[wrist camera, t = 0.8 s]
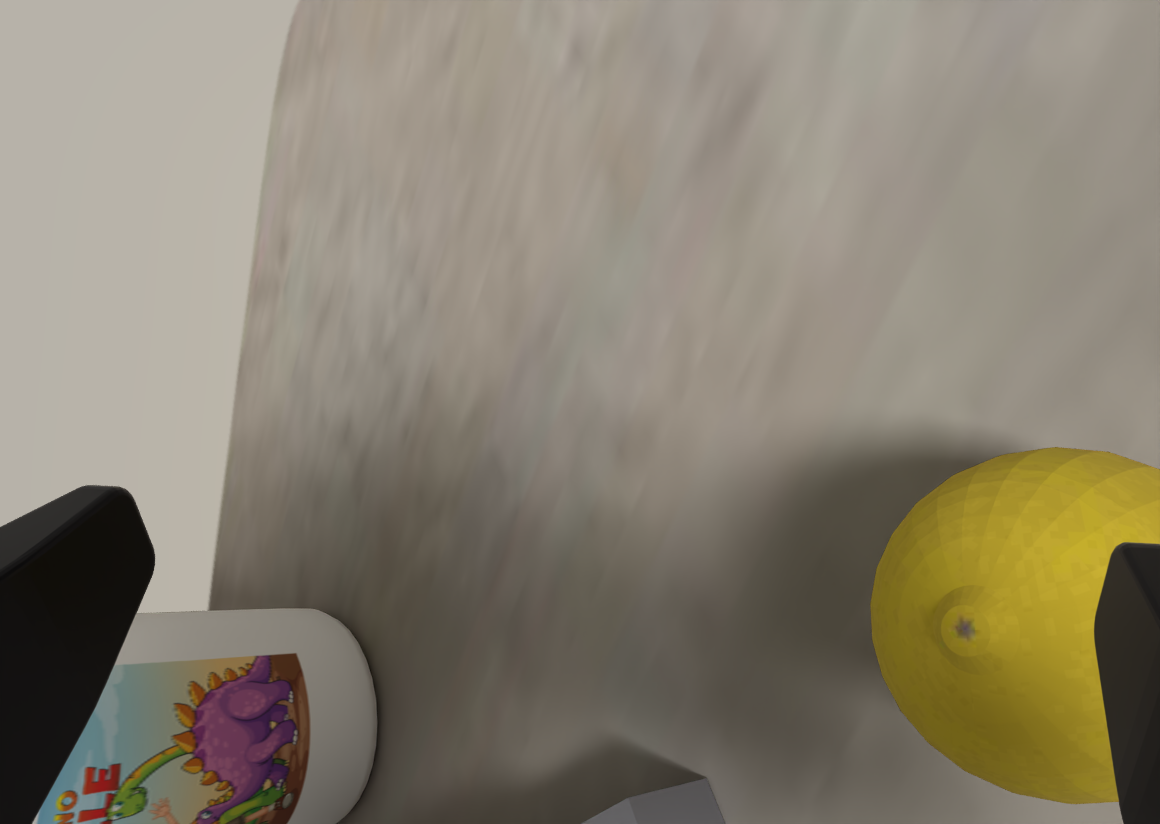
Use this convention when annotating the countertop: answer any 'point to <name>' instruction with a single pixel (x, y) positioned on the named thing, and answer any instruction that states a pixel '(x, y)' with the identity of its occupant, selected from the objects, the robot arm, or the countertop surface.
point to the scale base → (665, 807)
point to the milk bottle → (225, 724)
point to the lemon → (1012, 615)
